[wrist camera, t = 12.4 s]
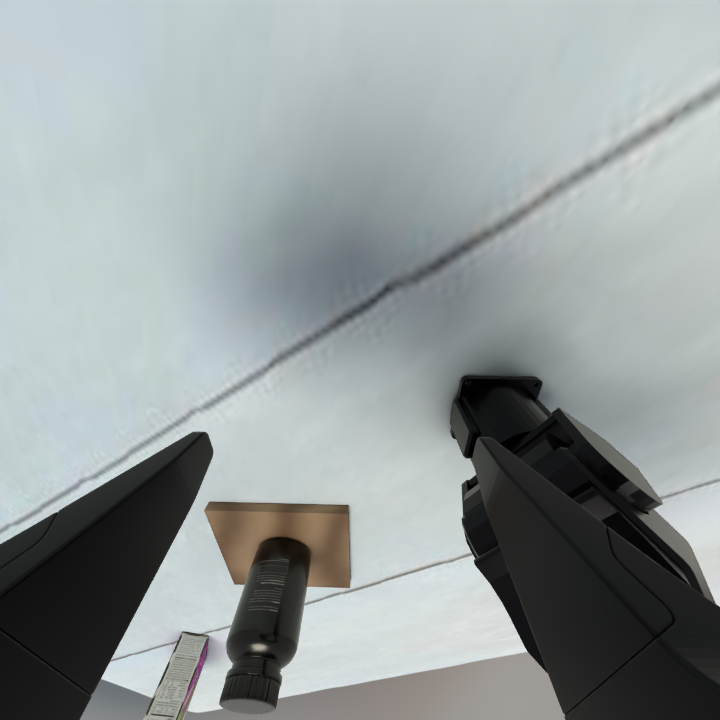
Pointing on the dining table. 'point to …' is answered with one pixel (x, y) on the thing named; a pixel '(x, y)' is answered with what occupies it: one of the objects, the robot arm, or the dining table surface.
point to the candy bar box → (179, 679)
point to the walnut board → (284, 536)
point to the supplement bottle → (266, 626)
